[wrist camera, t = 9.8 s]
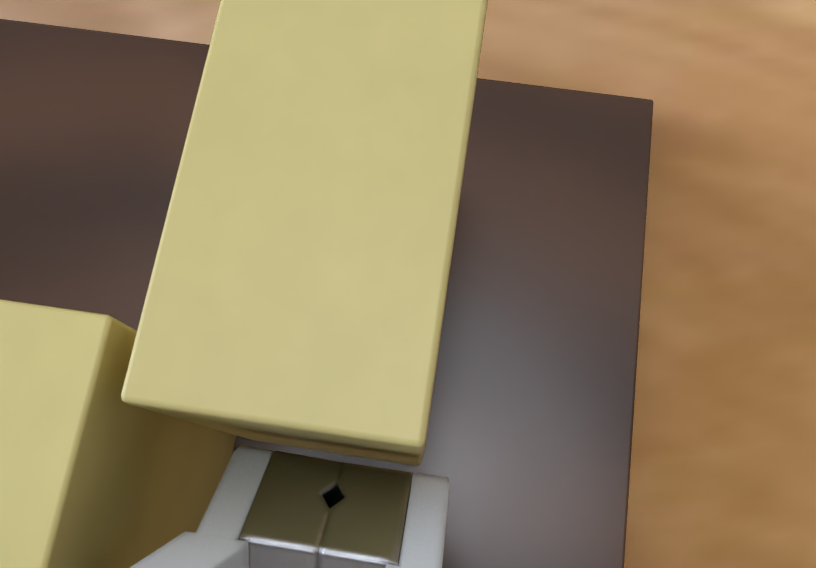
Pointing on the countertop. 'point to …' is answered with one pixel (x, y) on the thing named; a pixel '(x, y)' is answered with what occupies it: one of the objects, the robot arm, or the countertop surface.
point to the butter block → (90, 448)
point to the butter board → (467, 286)
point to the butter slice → (314, 225)
